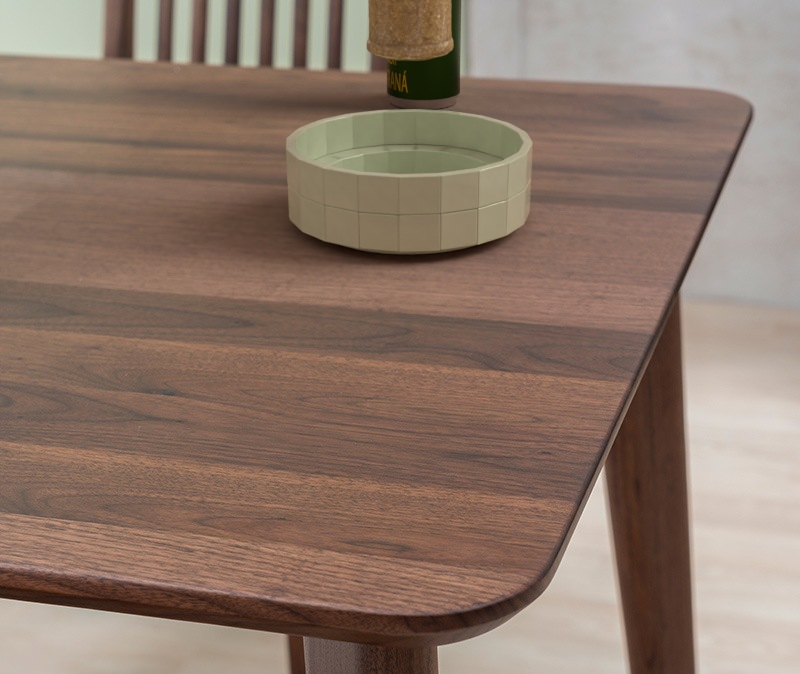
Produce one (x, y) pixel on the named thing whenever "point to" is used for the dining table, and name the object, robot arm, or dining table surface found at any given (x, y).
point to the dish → (409, 180)
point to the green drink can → (428, 75)
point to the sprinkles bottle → (409, 29)
